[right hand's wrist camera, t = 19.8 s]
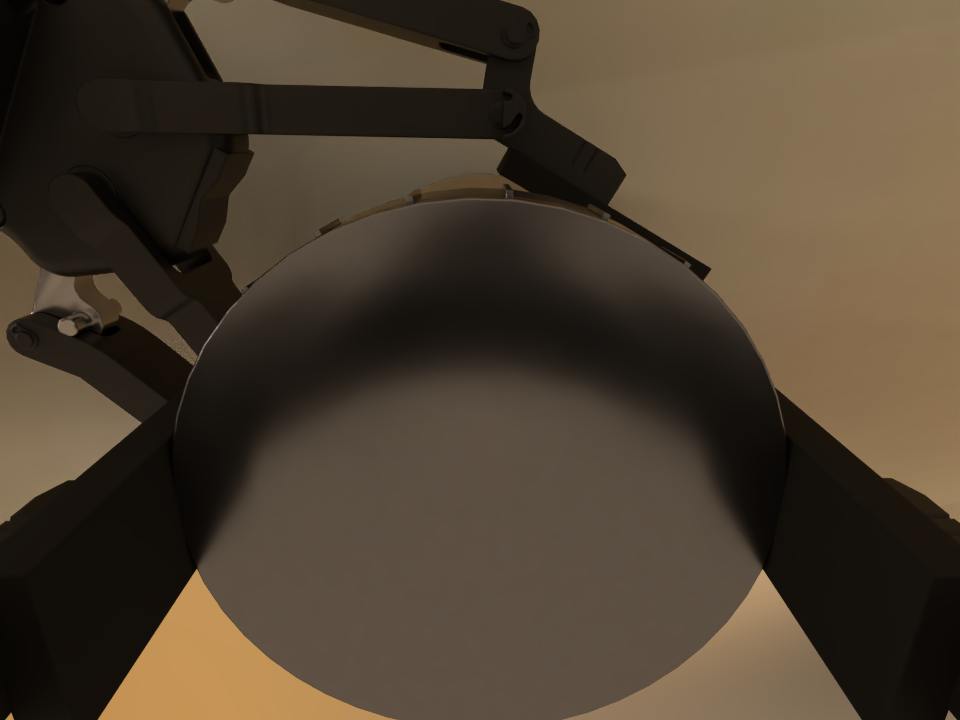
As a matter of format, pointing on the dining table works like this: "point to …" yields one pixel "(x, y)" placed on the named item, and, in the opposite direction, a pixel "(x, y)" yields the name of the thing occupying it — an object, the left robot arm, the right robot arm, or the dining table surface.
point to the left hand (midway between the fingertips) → (595, 402)
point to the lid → (479, 459)
